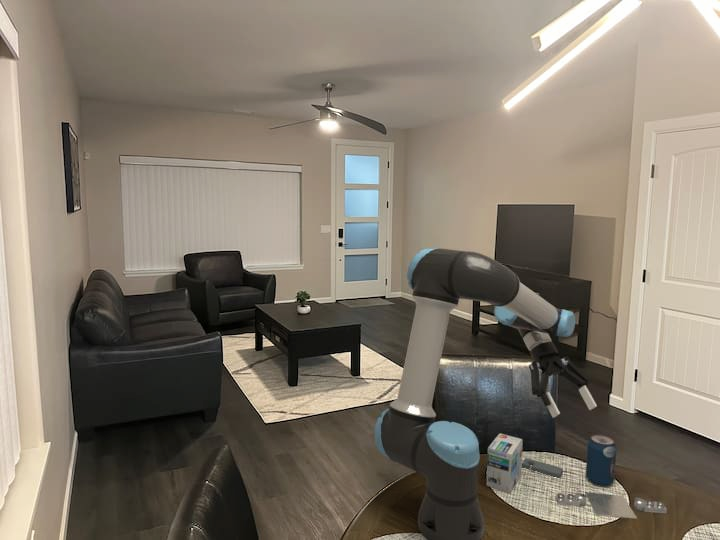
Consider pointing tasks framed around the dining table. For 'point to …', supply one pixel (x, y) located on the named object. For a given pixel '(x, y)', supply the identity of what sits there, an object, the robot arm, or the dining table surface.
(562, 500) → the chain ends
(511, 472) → the light bulb box
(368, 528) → the dining table surface
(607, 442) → the soda can
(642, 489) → the dining table surface
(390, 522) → the dining table surface
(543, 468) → the bracket
